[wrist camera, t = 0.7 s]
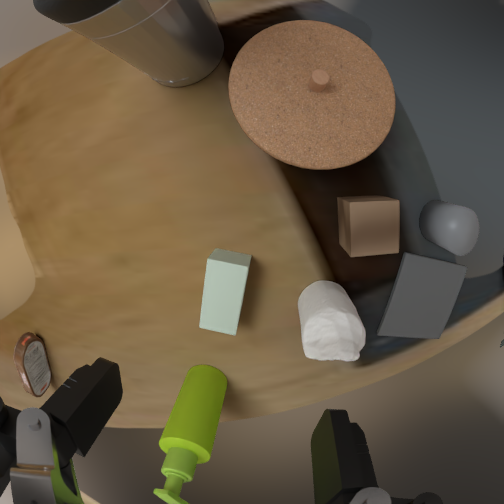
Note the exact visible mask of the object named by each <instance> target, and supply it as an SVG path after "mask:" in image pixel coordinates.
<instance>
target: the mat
mask: <svg viewBox="0 0 504 504" xmlns="http://www.w3.org/2000/svg"><path fill="white" fill-rule="evenodd" d="M466 271H467V267H466V266H464V265H460V264H456V263H451V262H447V261H443V260H439V259H434V258H430V257H426V256H421V255H417V254H412V253H408V252H404V254H403V257H402V261H401V264H400V268H399V271H398V274H397V277H396V280H395V283H394V286H393V289H392V292H391V295H390V298H389V301H388V304H387V306H386V309H385V312H384V314H383V317H382V320H381V322H380V325H379V327H378V330H377V332H376V333H377V335H381V336H394V337H410V338H430V339H439V338H440V336H441V334H442V332H443V330H444V327H445V325H446V323H447V321H448V318H449V316H450V314H451V311H452V309H453V307H454V304H455V302H456V299H457V296H458V294H459V291H460V288H461V286H462V283H463V280H464V277H465V274H466Z"/></svg>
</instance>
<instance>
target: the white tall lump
mask: <svg viewBox="0 0 504 504" xmlns="http://www.w3.org/2000/svg"><path fill="white" fill-rule="evenodd" d="M298 310H299V316H300V323H301V336H302V344H303V349H304V353H305V355H306V357H307V358H310V359H318V360H319V361H321V360H331V361H333V360H337V359H338V360H343V361H348V362H349V361H355V360H357V359H358V358H359V357H360V354H359V351H360V350H361V349H362V348H363V347H364V345H365V336H366V332H365V328H364V326H363V324H362V321H361V319H360V317H359V315H358V313H357V310H356V308H355V306H354V304H353V303H352V301H351V300H350V298H349V296H348V295H347V293H346V291H345V290H344V289H343V287H342V286H340V285H339V284H337V283H335V282H332V281H326V280H320V281H316V282H314V283H312V284H310V285H309V286H307V287H306V288H305V289H304V290H303V291H302V293H301V295H300V297H299V300H298Z"/></svg>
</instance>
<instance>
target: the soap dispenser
mask: <svg viewBox="0 0 504 504" xmlns="http://www.w3.org/2000/svg"><path fill="white" fill-rule="evenodd" d="M226 388H227V379H226V377H225V375H224V374H223V373H222V372H221V371H220V370H218V369H217V368H214V367H212V366H208V365H197V366H194V367H192V368H191V369H190V370H189V371H188V373H187V376H186V378H185V380H184V383H183V385H182V388H181V390H180V392H179V395H178V397H177V400H176V402H175V404H174V407H173V409H172V412H171V414H170V417H169V419H168V421H167V424H166V426H165V429H164V431H163V434H162V436H161V439H160V441H159V446H160V448H161V449H162V450H163V451H164V452H165V453H166V454H167V455H166V458H165V460H164V463H163V467H162V469H161V471H162V473H163V474H164V475H165V476H166V477H167V480H166V482H165V485H164V488H163V489H155V490H154V494H156V495H157V496H158V497H160V498H161V499H162V500H164V501H165V502H167V503H169V504H189V503H187V502H186V501H184V500H183V499H181V498H179V494H180V491H181V488H182V484H183V483H185V482H190V481H192V479H193V476H194V472H195V468H196V465H197V464H200V463H205V462H207V461H208V460H209V459H210V456H211V452H212V448H213V444H214V439H215V435H216V431H217V426H218V422H219V418H220V414H221V409H222V405H223V401H224V396H225V392H226Z"/></svg>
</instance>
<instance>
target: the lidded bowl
mask: <svg viewBox="0 0 504 504" xmlns="http://www.w3.org/2000/svg"><path fill="white" fill-rule="evenodd" d="M228 89H229V99H230V103H231V107H232V110H233V112H234V115H235V117H236V119H237V121H238V123H239V124H240V126H241V127H242V129H243V131H244V132H245V133H246V134H247V135H248V137H249V138H250V139H251V140H252V141H253V142H254V143H255V144H256V145H257V146H258V147H260V148H261V149H262V150H263V151H264V152H266V153H268V154H269V155H271V156H273V157H274V158H276V159H278V160H280V161H283V162H285V163H287V164H290V165H293V166H297V167H300V168H307V169H314V170H329V169H335V168H341V167H345V166H348V165H351V164H354V163H356V162H358V161H360V160H362V159H364V158H366V157H367V156H369V155H370V154H371V153H372V152H374V151H375V150H376V149H377V148H378V147H379V146H380V144H381V143H382V142H383V141H384V139H385V138H386V136H387V134H388V133H389V131H390V128H391V126H392V123H393V119H394V114H395V93H394V87H393V84H392V81H391V78H390V75H389V73H388V71H387V69H386V67H385V65H384V64H383V63H382V61H381V60H380V58H379V57H378V56H377V54H376V53H375V52H374V51H373V50H372V49H371V48H370V47H369V46H368V45H367V44H366V43H365V42H363V41H362V40H361V39H360V38H358V37H357V36H355V35H353V34H352V33H350V32H349V31H346V30H344V29H342V28H340V27H337V26H334V25H331V24H328V23H324V22H318V21H309V20H297V21H288V22H284V23H280V24H276V25H273V26H271V27H269V28H266V29H264V30H263V31H261V32H259V33H258V34H256V35H255V36H253V37H252V38H251V39H250V40H249V41H248V42H247V43H246V44H245V45H244V46H243V47H242V49H241V50H240V51H239V52H238V54H237V56H236V58H235V60H234V62H233V64H232V68H231V71H230V75H229V83H228Z"/></svg>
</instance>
